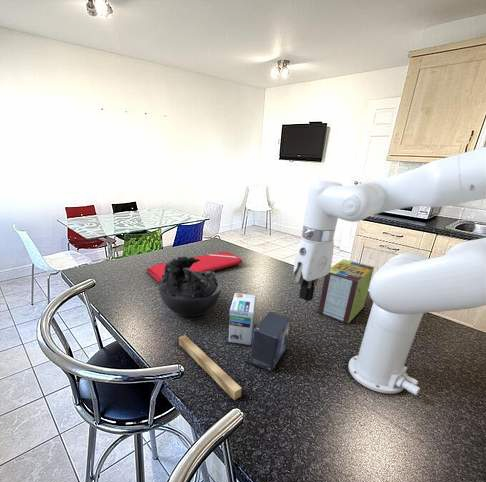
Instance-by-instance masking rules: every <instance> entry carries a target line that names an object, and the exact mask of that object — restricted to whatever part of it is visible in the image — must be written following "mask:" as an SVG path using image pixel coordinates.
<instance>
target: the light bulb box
mask: <svg viewBox="0 0 486 482" xmlns="http://www.w3.org/2000/svg"><path fill="white" fill-rule="evenodd" d="M256 303H257V295H255V294H245V293H239V292H238V293H237V292H234V295H233V298H232V302H231V304H230V308H229V325H228V343H232V344H233V343H234V344H238V345H239V344H241V345H247V346H252V341H253V332H254V329H255V317H256V316H255V315H256Z"/></svg>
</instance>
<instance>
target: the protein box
mask: <svg viewBox="0 0 486 482" xmlns="http://www.w3.org/2000/svg"><path fill="white" fill-rule="evenodd" d="M374 269H375V267H374V266H372V265H367V264H364V263H360V262H357V261H352V260H348V259H344V258H343V259H341V260H340V261H338V262H337V263H335V264H334V265H333V266H332V265H331V268H330V272H329V273H328V274H327V275H325V276H324V278H323V283H322V289H321V294H320V300H319V305H318V311H317V313H319V314H321V315H325V316H326V317H330V318H333V319H335V320H337V321H339V322H342V323H345V324H346V325H347V324H349V323H351V321H352V320H353V319H354V318H355V317H356V316H357V315H358V314H359V313H360V312H361V310H362V309H363V308H364V307H365V304H366V299H367V296H368V294H369V285H370V282H371V279H372V278H373V273H374Z"/></svg>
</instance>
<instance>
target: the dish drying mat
mask: <svg viewBox="0 0 486 482" xmlns="http://www.w3.org/2000/svg"><path fill="white" fill-rule="evenodd" d="M193 257H194V258H195V259H199V260H200V261H198V262H196V263H193V265H192V266H191V267H190V268H189V269H190V270H191V271H197V272H205V271H210V270H211V269H213V270H214V272H215V271H219V270H223V269H226V268H230V267H233V266H237V265H240V264H242V263H243V262H244V261H243V259H242V258H241V257H238V256H237V255H235V254H232V253H231V252H227V251H218V252H213V253H207V254H203V255H197V256H193ZM168 262H169V261H168ZM168 262H161V263H158V264H154V265H153V266H151V267H147V268H146V271H147V273H148V274H150V275H151V276H152V277H153V278H154V280H156V281H157V283H158V284H160V283H161V280H162V275H163V274H164V270H165V265H166V264H167V263H168Z"/></svg>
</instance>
